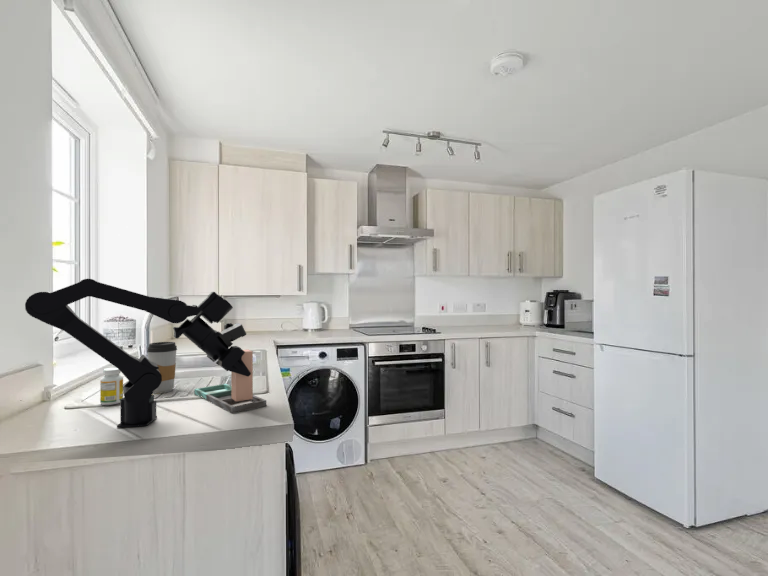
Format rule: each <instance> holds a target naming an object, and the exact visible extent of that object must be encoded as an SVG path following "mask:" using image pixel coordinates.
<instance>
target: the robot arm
mask: <svg viewBox="0 0 768 576" xmlns="http://www.w3.org/2000/svg"><path fill="white" fill-rule="evenodd" d="M87 297H91V298H94V299H97V300H98V299H99V300H102V301H107V302H111V303H115V304H118V305H121V306H126V307H129V308H132V309H137V310H140V311H143V312H147V313H149V314H151V315H154V316H155V317H158V318H160V319H162V320H164V321H167V322H169V323H172V324H180V323H181V324H180V325H179V326H173V327H172V329H173V337H174V339H179V338H180V337H181V336H182V335H184V336H185V338H187V339H188V340H189V341H190V342H191V343H193V344H194V345H195V346H196V347H197V348H198V349H199V350H201V351H203V353H205V354H206V357H207V358H208V359H209V360H210V361H212V362H213V363H215V364H216V365H217V366H220V367H221V368H222V369H223V370H225V371H226V372H235V373H238V374H241V375H244V376H248V377H249V376H250V375H251V373H250V371H249V370H248V368H247V367H246V365H245V364H244V362H243V361H242V356H243V355H244V353H245V352H244V351H243V350H244V349H242V348H241V347H239V346H238V345H233V344H234V343H232V342H234V341H236V340H237V339H240V338H243V337H245V336H246V335H247V332H246V329H245V328H244V326H243V324H242V323H235V324H232V322H227V323H225V324H224V325H223V329H222V331H219V330H215V329H214V328H213V327H212V326H210V325H209V324H208V323H210V324H213V323H216V324H218V323H219V322H221V321H222V320H223V319H224V317H225V316H227V314H229V312H231V310H233V309H234V308H233V305H232V304H231V303H230V302H229V301H228V300H227V299H224V298H223V297H222V296H221V295H220V294H218V293H216V291H211V292H210V293H209V294H208V295H207V296H206V298H205V299H204V300H203V301H202V302H200V304H199V305H198V306H197V305H196V304H192V305H188V304H187V303H186V302H185V301H182V300H178V299H171V298H164V297H157V296H155V297H154V296H149V295H146V294H141V293H138V292H135V291H131V290H127V289H124V288H120V287H118V286H114V285H110V284H106V283H104V282H103V283H102V282H99V281H97V280H95V279H92V278H84V279H82V280H80V281H79V282H76V283H73V284H71V285H68V286H66V287H65V286H64V287H62V288H60V289H57V290H55V291H38V292H35V293H34V292H33V293H32V294H31V295H29V297H28V298H27V299H26V301H25V304H24V306H25V307H24V309H25V311H26V313H27V314H28V315H29V316H30V317H32V318H34V319H36V320H39V321H40V322H43V323H45V324H46V325H48V326H52V327H54V328H57V329H59V330H62V331H63V332H65V333H67V334H68V335H69V336H71V337H73V338H74V339H75V340H76V341H78V342H79V343H81V344H82V345H83V346H85V347H86V348H88V349H89V350H90V351H93V352H94V353H95V354H96V355H98V356H99V357H101V358H102V359H104V360H105V361H107V362H108V363H110V364H111V365H113V367H114V368H118V369H119V370H120V371H121V372H120V373H122V375H123V377H124V376H125V378H126V379H127V380H128V381H127V382H126V383H125V384H123V398H122V399H120V403H119V404H120V407H119V409H120V414H119V415H120V421H119V422H120V423H118V424H117V425H116V428H133V427H135V428H136V427H146V426H148V425H149V424H151V423H152V422H153V421H154V420H156V419H157V418H158V415H157V401H156V400H155V394H153V391H154V390H155V389H157V388H158V387H159V386H160V384H161V381H162V375H161V373H160V372H159V370H158V369H159V367H158V366H157V364H156V363H153V362H151V361H149V360H148V357H147V356H146V355H144V354H141V356H140V357H139V358H138V357H136V356H134V355H131V354H129V352H127V351H125V350H124V349H123V348H122V347H120V346H119V345H117V344H116V343H114V342H113V341H111V340H110V338H107V337H106V336H105V335H103V334H102V333H101V332H100V331H98V330H97V329H95V328H94V327H92V326H91V325H89V323H87V322H85V321H84V320H83V319H82V318H80V317H79V316H78V315H77V313H76V312H74V310H73V309H72V307H70V306H69V305H71V304H72V303H76V302H78V301H80V300H82V299H85V298H87ZM188 317H192V318H191V319H188ZM201 317H202V318H201ZM205 320H206V321H207V322H208V323H207V322H206V321H205Z"/></svg>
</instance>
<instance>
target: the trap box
mask: <svg viewBox="0 0 768 576" xmlns="http://www.w3.org/2000/svg"><path fill="white" fill-rule="evenodd" d="M194 395H196V396H198V395H199V396H198V397H200V396H202V397H203V398H202V397H201V398H202V399H204V398H205V399H206V400H205V399H204V400H205V401H207V400H208V401H207V402H209V401H210V403H211V402H212V403H211V404H213V403H214V404H213V405H215V406H217V407H219V408H221V409H223V410H225V411H226V412H229V413H230V414H235V413H241V412H245V411H250V410H254V409H258V408H264V407H267V399H265V398H262V397H259V396H257V395H256V394H255V395H254V394H253V399H249V400H242V401H235V400H233V399H232V398H231V384H227V383H222V384H215V385H211V386H210V385H209V386H204V387H199V388H194ZM247 401H250V402H249V403H243V404H238V405H232V404H236V403H241V402H247Z"/></svg>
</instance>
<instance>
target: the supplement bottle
mask: <svg viewBox="0 0 768 576" xmlns="http://www.w3.org/2000/svg"><path fill="white" fill-rule="evenodd" d="M121 373H122V372H121V371H120V370H119V369H118V368H117V367H109V368H108V367H107V368H104V369H103V376H102V377H101V378H100V382H99V384H100V389H99V390H100V392H99V393H100V395H99V396H100V398H99V401H100V405H102V406H112V405H113V406H114V405H117V404H120V399H122V398H124V393H123V386H124V375H121Z"/></svg>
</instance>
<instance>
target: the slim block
mask: <svg viewBox="0 0 768 576" xmlns="http://www.w3.org/2000/svg"><path fill="white" fill-rule="evenodd" d="M242 350H243V351H244V352H245V353H244V355H243V356H242V361H243V362H244V364H245V365H246V367H247V368H248V370H249V371H250V373H251V375H250V376H249V377H248V376H244V375H241V374H238V373H235V372H231V371H230V372H231V375H230V376H231V379H230V380H231V381H230V382H231V383H230V386H231V398H232V399H233V400H235V401H242V400H247V401H250V400H249V399H253V395H254V394H253V393H254V392H253V391H254V390H253V388H254V387H253V386H254V385H253V384H254V383H253V381H254V377H253V375H254V374H253V373H254V372H253V369H254V366H253V365H254V364H253V362H254V361H253V359H254V357H253V356H254V355H253V354H254V351H253V350H250V349H242ZM242 402H243V401H242Z"/></svg>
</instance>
